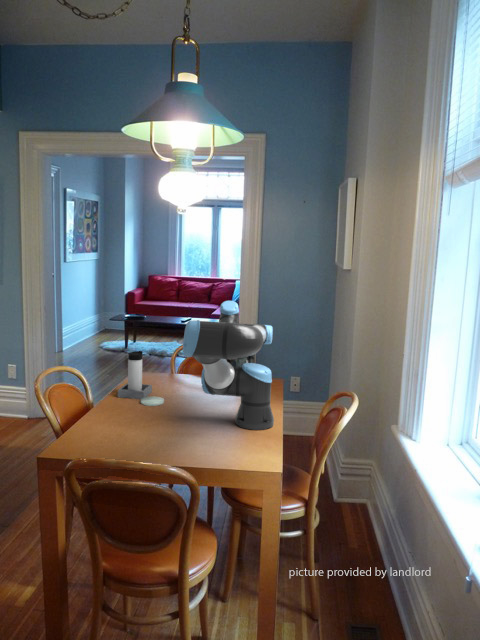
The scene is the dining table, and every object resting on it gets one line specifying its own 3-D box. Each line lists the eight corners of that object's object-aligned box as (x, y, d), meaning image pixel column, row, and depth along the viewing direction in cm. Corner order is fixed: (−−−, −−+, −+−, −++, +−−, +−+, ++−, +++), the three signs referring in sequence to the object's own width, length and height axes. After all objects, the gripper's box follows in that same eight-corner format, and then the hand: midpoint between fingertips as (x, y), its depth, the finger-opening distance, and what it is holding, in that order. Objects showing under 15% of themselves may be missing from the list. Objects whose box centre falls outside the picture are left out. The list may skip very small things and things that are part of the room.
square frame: (143, 399, 223) (143, 391, 222) (117, 397, 224) (117, 389, 224) (151, 392, 235) (152, 384, 234) (127, 390, 236) (127, 382, 236)
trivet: (160, 406, 214) (160, 404, 214) (137, 404, 215) (137, 402, 215) (166, 400, 224) (166, 397, 223) (145, 398, 225) (145, 395, 225)
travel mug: (145, 394, 230) (145, 352, 227) (133, 397, 225) (133, 353, 222) (137, 391, 234) (137, 349, 231) (125, 394, 229) (125, 351, 226)
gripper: (261, 328, 213) (261, 363, 228) (203, 324, 216) (206, 358, 231) (259, 341, 208) (259, 375, 222) (200, 336, 211) (203, 370, 225)
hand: (232, 367), depth 226 cm, fingers open, 13 cm apart
